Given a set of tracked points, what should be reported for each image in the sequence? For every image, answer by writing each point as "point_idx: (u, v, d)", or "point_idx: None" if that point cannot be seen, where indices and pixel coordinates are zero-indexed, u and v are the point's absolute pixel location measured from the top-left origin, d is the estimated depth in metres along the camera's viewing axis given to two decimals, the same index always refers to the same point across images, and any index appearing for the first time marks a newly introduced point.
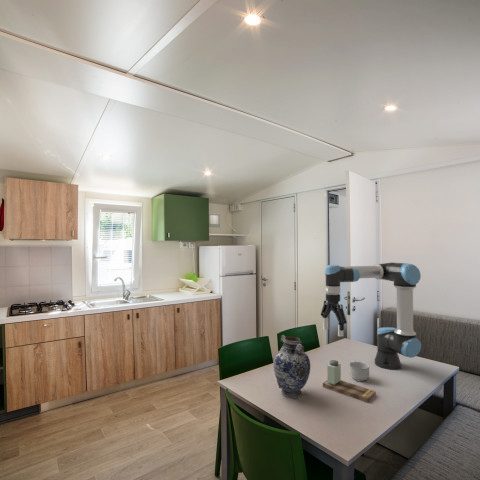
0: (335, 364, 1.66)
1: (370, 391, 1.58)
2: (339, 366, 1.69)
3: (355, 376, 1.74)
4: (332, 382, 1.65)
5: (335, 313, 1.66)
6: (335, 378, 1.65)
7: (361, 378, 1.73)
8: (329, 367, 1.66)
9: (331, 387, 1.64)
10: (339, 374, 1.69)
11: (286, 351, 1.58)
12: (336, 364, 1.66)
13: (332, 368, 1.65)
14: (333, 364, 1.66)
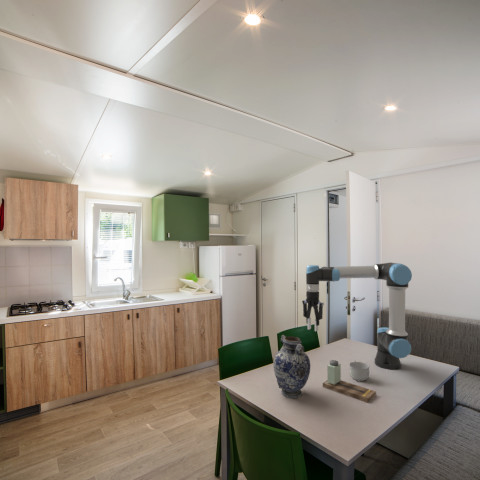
0: (335, 364, 1.66)
1: (370, 391, 1.58)
2: (339, 366, 1.69)
3: (355, 376, 1.74)
4: (332, 382, 1.65)
5: (314, 309, 1.86)
6: (335, 378, 1.65)
7: (361, 378, 1.73)
8: (329, 367, 1.66)
9: (331, 387, 1.64)
10: (339, 374, 1.69)
11: (286, 351, 1.58)
12: (336, 364, 1.66)
13: (332, 368, 1.65)
14: (333, 364, 1.66)
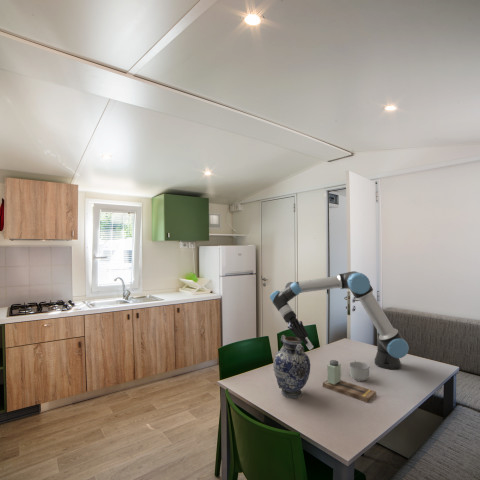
0: (335, 364, 1.66)
1: (370, 391, 1.58)
2: (339, 366, 1.69)
3: (355, 376, 1.74)
4: (332, 382, 1.65)
5: None
6: (335, 378, 1.65)
7: (361, 378, 1.73)
8: (329, 367, 1.66)
9: (331, 387, 1.64)
10: (339, 374, 1.69)
11: (286, 351, 1.58)
12: (336, 364, 1.66)
13: (332, 368, 1.65)
14: (333, 364, 1.66)
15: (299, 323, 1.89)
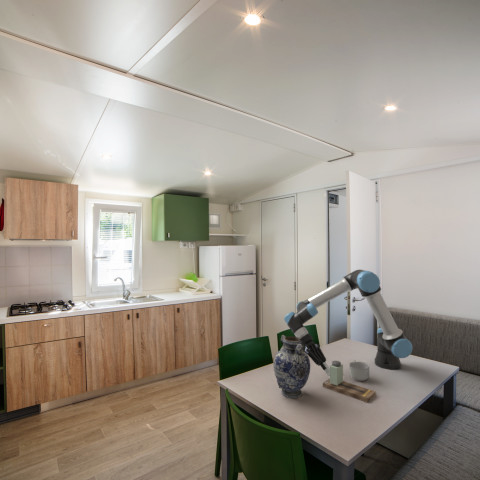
0: (337, 365, 1.65)
1: (370, 391, 1.58)
2: (341, 367, 1.68)
3: (355, 376, 1.74)
4: (334, 383, 1.64)
5: None
6: (337, 379, 1.64)
7: (361, 378, 1.73)
8: (331, 368, 1.66)
9: (331, 387, 1.64)
10: (342, 375, 1.68)
11: (286, 351, 1.58)
12: (338, 365, 1.65)
13: (334, 369, 1.64)
14: (335, 365, 1.66)
15: (316, 346, 1.80)
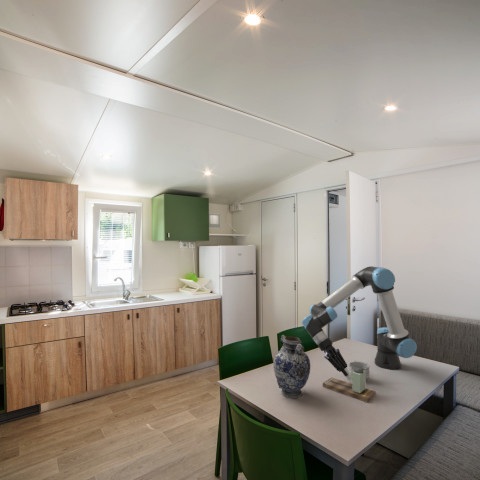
0: (360, 371, 1.57)
1: (370, 391, 1.58)
2: (364, 373, 1.59)
3: None
4: (357, 390, 1.56)
5: None
6: (360, 386, 1.56)
7: None
8: (354, 374, 1.57)
9: (331, 387, 1.64)
10: (364, 382, 1.59)
11: (286, 351, 1.58)
12: (361, 371, 1.57)
13: (357, 376, 1.56)
14: (358, 371, 1.57)
15: (336, 351, 1.71)
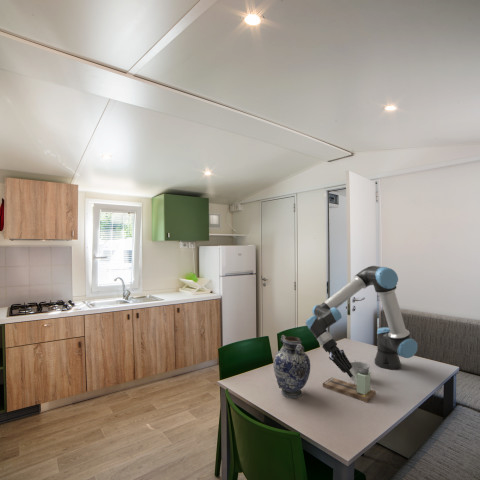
0: (365, 373, 1.55)
1: (370, 391, 1.58)
2: (369, 375, 1.58)
3: None
4: (362, 392, 1.54)
5: None
6: (365, 387, 1.54)
7: None
8: (359, 376, 1.55)
9: (331, 387, 1.64)
10: (369, 383, 1.58)
11: (286, 351, 1.58)
12: (366, 373, 1.55)
13: (362, 377, 1.54)
14: (363, 373, 1.55)
15: (340, 352, 1.70)
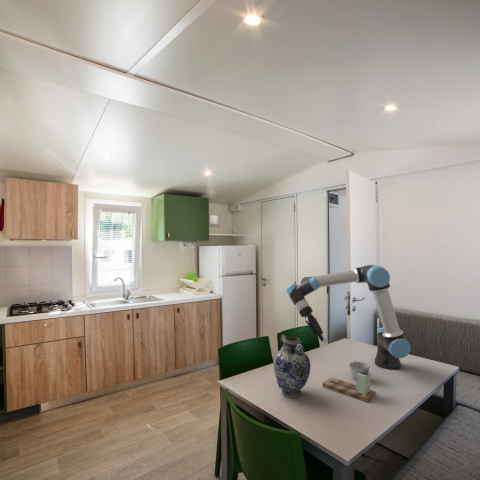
0: (365, 373, 1.55)
1: (370, 391, 1.58)
2: (369, 375, 1.58)
3: (355, 376, 1.74)
4: (362, 392, 1.54)
5: None
6: (365, 388, 1.54)
7: None
8: (359, 376, 1.55)
9: (331, 387, 1.64)
10: (369, 383, 1.58)
11: (286, 351, 1.58)
12: (366, 373, 1.55)
13: (362, 377, 1.54)
14: (363, 373, 1.55)
15: None
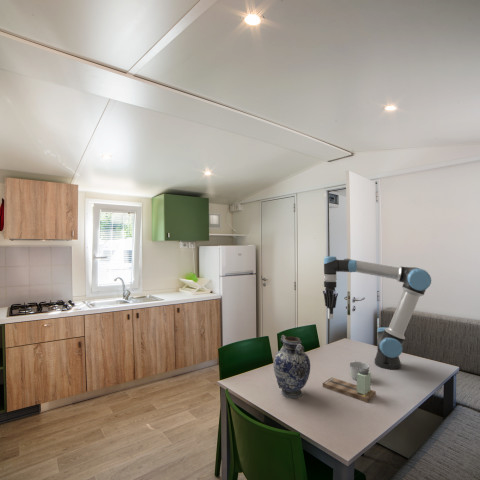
0: (365, 373, 1.55)
1: (370, 391, 1.58)
2: (369, 375, 1.58)
3: (355, 376, 1.74)
4: (362, 392, 1.54)
5: (329, 298, 1.96)
6: (365, 388, 1.54)
7: None
8: (359, 376, 1.55)
9: (331, 387, 1.64)
10: (369, 383, 1.58)
11: (286, 351, 1.58)
12: (366, 373, 1.55)
13: (362, 377, 1.54)
14: (363, 373, 1.55)
15: None
